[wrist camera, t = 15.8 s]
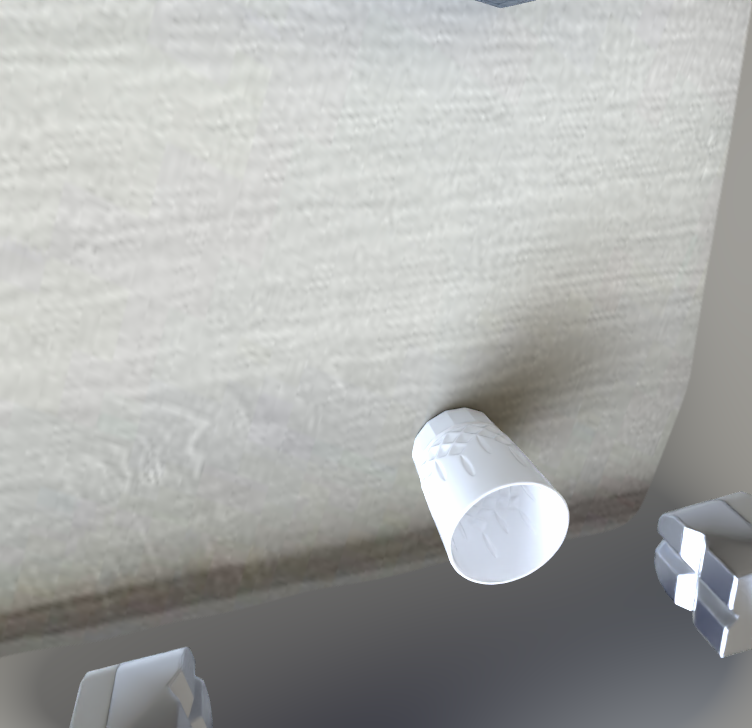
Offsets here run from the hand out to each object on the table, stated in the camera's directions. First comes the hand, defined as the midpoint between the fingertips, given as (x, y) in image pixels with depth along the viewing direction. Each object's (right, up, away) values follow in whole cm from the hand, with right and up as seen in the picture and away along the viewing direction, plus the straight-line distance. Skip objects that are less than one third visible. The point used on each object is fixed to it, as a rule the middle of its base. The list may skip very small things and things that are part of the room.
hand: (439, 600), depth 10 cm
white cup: (+5, -2, +36) cm, 36 cm away
